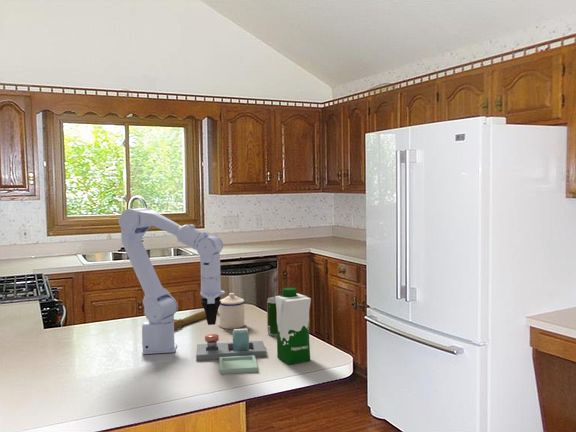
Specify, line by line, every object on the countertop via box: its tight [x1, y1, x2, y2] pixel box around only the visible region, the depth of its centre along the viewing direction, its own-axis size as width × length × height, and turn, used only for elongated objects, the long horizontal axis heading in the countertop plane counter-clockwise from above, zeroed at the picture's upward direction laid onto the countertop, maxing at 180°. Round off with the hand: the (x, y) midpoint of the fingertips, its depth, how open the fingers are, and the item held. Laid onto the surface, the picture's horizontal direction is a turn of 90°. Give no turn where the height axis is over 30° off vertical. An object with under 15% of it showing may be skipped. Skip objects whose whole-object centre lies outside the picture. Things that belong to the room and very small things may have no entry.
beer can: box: [266, 296, 277, 337], centre depth 173 cm, size 5×5×12 cm
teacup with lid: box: [217, 292, 246, 330], centre depth 185 cm, size 12×9×12 cm
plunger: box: [204, 333, 220, 349], centre depth 153 cm, size 4×4×3 cm
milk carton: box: [274, 286, 312, 366], centre depth 147 cm, size 9×9×20 cm
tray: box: [218, 355, 259, 375], centre depth 143 cm, size 10×10×1 cm
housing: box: [195, 340, 267, 361], centre depth 154 cm, size 20×10×2 cm, turn 98°
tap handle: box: [174, 309, 206, 331], centre depth 186 cm, size 3×3×30 cm
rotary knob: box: [232, 328, 250, 352], centre depth 155 cm, size 5×5×7 cm
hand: (211, 322), depth 153 cm, fingers open, 3 cm apart
